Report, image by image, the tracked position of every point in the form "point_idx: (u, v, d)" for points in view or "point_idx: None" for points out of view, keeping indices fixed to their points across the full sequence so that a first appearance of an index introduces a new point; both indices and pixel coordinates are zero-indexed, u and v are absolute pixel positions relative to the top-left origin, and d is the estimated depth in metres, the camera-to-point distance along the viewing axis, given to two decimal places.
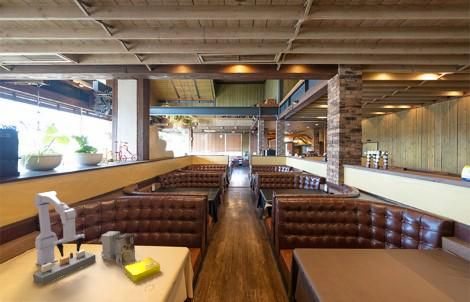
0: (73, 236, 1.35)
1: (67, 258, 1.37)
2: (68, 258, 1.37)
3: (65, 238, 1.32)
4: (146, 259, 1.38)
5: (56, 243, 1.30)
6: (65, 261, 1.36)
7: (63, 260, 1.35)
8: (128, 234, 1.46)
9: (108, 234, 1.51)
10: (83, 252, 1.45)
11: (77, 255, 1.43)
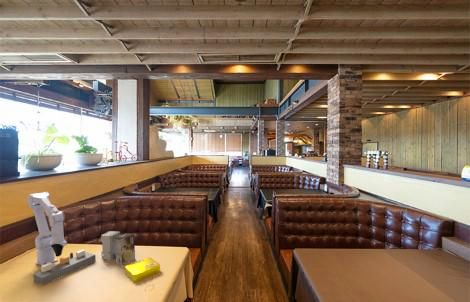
0: (54, 240, 1.36)
1: (67, 258, 1.37)
2: (68, 258, 1.37)
3: None
4: (146, 259, 1.38)
5: (50, 240, 1.41)
6: (65, 261, 1.36)
7: (63, 260, 1.35)
8: (128, 234, 1.46)
9: (108, 234, 1.50)
10: (83, 252, 1.45)
11: (77, 255, 1.43)
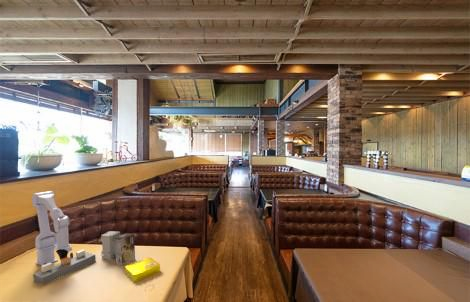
0: (59, 245, 1.34)
1: (68, 258, 1.36)
2: (69, 258, 1.37)
3: None
4: (146, 259, 1.38)
5: (54, 246, 1.39)
6: (66, 261, 1.35)
7: (64, 260, 1.34)
8: (128, 234, 1.46)
9: (108, 234, 1.50)
10: (83, 252, 1.45)
11: (77, 255, 1.43)
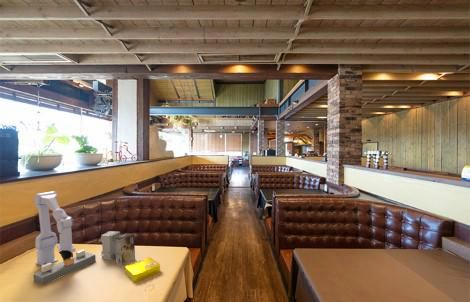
0: (62, 246, 1.33)
1: (72, 259, 1.35)
2: (73, 259, 1.35)
3: None
4: (146, 259, 1.38)
5: (58, 246, 1.38)
6: (70, 262, 1.34)
7: (68, 261, 1.33)
8: (128, 234, 1.46)
9: (108, 234, 1.50)
10: (83, 252, 1.45)
11: (77, 255, 1.43)
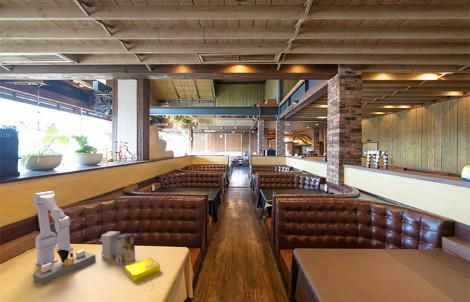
0: (60, 246, 1.34)
1: (72, 259, 1.35)
2: (73, 259, 1.35)
3: None
4: (146, 259, 1.38)
5: (55, 246, 1.39)
6: (70, 262, 1.34)
7: (68, 261, 1.33)
8: (128, 234, 1.46)
9: (108, 234, 1.50)
10: (83, 252, 1.45)
11: (77, 255, 1.43)
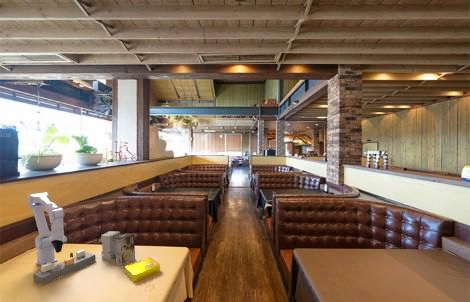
0: (54, 236, 1.36)
1: (72, 259, 1.35)
2: (73, 259, 1.35)
3: None
4: (146, 259, 1.38)
5: (50, 237, 1.41)
6: (70, 262, 1.34)
7: (68, 261, 1.33)
8: (128, 234, 1.46)
9: (108, 234, 1.50)
10: (83, 252, 1.45)
11: (77, 255, 1.43)
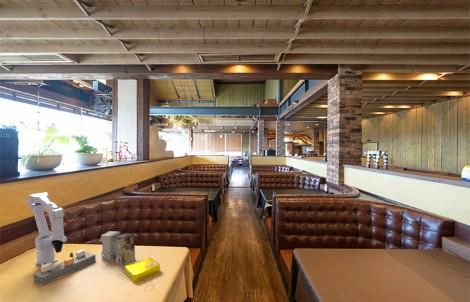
0: (54, 236, 1.36)
1: (72, 259, 1.35)
2: (73, 259, 1.35)
3: None
4: (146, 259, 1.38)
5: (50, 237, 1.41)
6: (70, 262, 1.34)
7: (68, 261, 1.33)
8: (128, 234, 1.46)
9: (108, 234, 1.50)
10: (83, 252, 1.45)
11: (77, 255, 1.43)
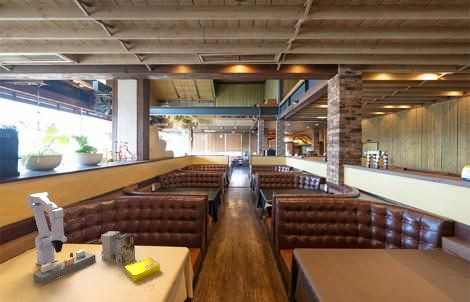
0: (54, 236, 1.36)
1: (72, 259, 1.35)
2: (73, 259, 1.35)
3: None
4: (146, 259, 1.38)
5: (50, 237, 1.41)
6: (70, 262, 1.34)
7: (68, 261, 1.33)
8: (128, 234, 1.46)
9: (108, 234, 1.50)
10: (83, 252, 1.45)
11: (77, 255, 1.43)
